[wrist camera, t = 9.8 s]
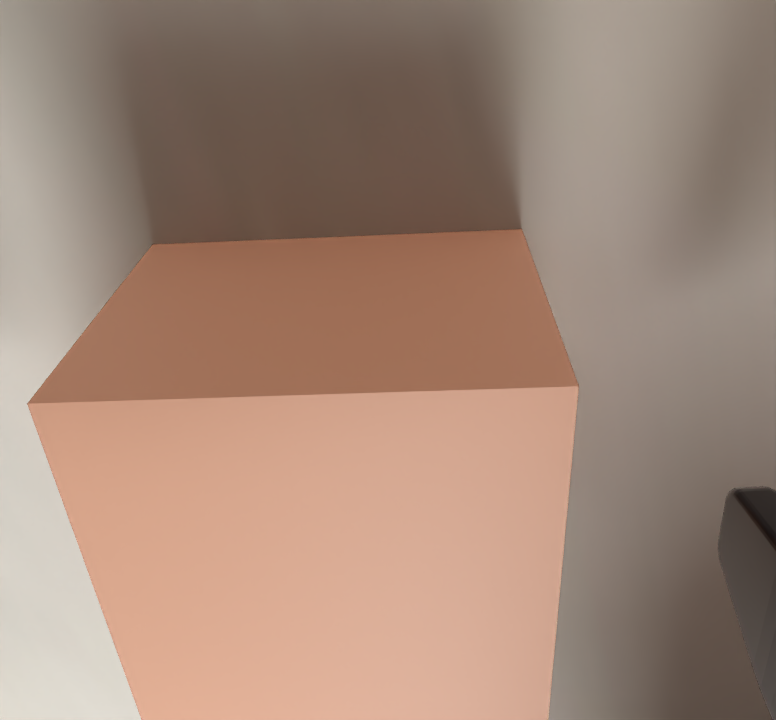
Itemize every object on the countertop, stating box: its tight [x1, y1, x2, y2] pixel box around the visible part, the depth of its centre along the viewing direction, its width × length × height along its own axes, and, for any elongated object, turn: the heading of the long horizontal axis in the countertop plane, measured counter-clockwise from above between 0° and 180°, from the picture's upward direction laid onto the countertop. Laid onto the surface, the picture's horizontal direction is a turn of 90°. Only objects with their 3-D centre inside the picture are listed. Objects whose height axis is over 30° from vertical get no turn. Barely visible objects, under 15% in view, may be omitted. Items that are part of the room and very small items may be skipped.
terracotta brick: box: [27, 229, 579, 720], centre depth 10 cm, size 5×5×4 cm
